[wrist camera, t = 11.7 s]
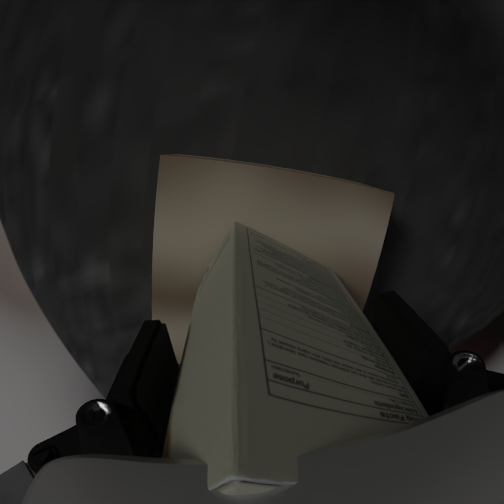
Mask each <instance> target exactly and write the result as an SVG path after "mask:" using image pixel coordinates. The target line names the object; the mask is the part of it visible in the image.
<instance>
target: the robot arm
mask: <svg viewBox="0 0 504 504" xmlns="http://www.w3.org/2000/svg"><path fill="white" fill-rule="evenodd" d="M372 327H373V328H374V330H375V331H376V333H377V334H378V336H379V337H380V339H381V340H382V342H383V343H384V345H385V346H386V348H387V349H388V351H389V352H390V354H391V356H392V357H393V359H394V360H395V362H396V363H397V365H398V366H399V368H400V370H401V371H402V373H403V374H404V376H405V377H406V379H407V381H408V382H409V384H410V386H411V387H412V389H413V390H414V392H415V394H416V395H417V397H418V399H419V400H420V402H421V404H422V405H423V407H424V409H425V410H426V412H427V414H428V415H429V416H428V417H425V418H423V419H420V420H417V421H414V422H412V423H409V424H406V425H403V426H400V427H397V428H394V429H391V430H388V431H384V432H381V433H378V434H374V435H370V436H367V437H363V438H359V439H355V440H351V441H347V442H343V443H338V444H334V445H330V446H327V447H324V448H321V449H319V450H316V451H313V452H310V453H307V454H304V455H301V456H298V457H297V465H298V483H296V484H293V485H283V486H280V487H277V488H275V489H272V490H270V491H267V492H261V493H253V494H244V495H228V494H223V493H221V492H219V491H217V490H209V489H208V486H207V479H208V464H206V463H205V462H203V461H200V460H198V459H175V458H162V456H163V449H164V443H165V437H166V432H167V427H168V422H169V417H170V411H171V406H172V401H173V396H174V391H175V386H176V382H177V377H178V373H179V366H178V362H177V359H176V356H175V353H174V350H173V346H172V343H171V340H170V336H169V333H168V329H167V326H166V324H165V323H161V321H160V320H146V321H144V323H143V325H142V327H141V329H140V331H139V333H138V335H137V337H136V339H135V342H134V344H133V346H132V348H131V350H130V352H129V354H127V355H126V357H125V358H124V361H123V363H122V365H121V367H120V369H119V371H118V373H117V376H116V378H115V380H114V382H113V384H112V387H111V389H110V391H109V393H108V396H107V398H106V400H105V399H95V400H91V401H88V402H86V403H85V404H84V405H82V406H81V407H80V409H79V410H78V411H77V414H76V424H77V425H75V426H73V427H71V428H69V429H67V430H65V431H64V432H61V433H59V434H57V435H55V436H53V437H51V438H49V439H47V440H45V441H43V442H41V443H39V444H37V445H36V446H34V447H33V448H32V450H31V451H30V453H29V455H28V462H27V463H25V462H24V461H21V462H20V463H18V464H17V465H15V466H14V467H12V468H10V469H9V470H7V471H5V472H4V473H2V474H1V475H0V504H504V374H502V373H497V372H493V371H488V370H486V367H485V363H484V360H483V359H482V358H481V356H479V355H478V354H477V353H474V352H472V351H467V350H460V351H457V352H454V353H453V354H452V355H451V353H450V352H449V351H448V349H449V348H448V347H447V346H446V344H445V343H444V342H443V341H442V340H441V339H440V338H439V337H438V336H437V335H436V334H435V332H434V331H433V330H432V329H431V328H430V327H429V326H428V325H427V324H426V323H425V322H424V321H423V320H422V319H421V318H420V317H419V316H418V315H417V313H416V312H415V311H414V310H413V309H412V308H411V307H410V306H409V305H408V304H407V303H406V302H405V301H404V300H403V299H402V298H401V297H400V296H399V295H398V294H397V293H396V292H395V291H389V292H384V293H380V294H379V297H377V298H376V299H375V304H374V314H373V323H372Z"/></svg>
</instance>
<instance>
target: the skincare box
mask: <svg viewBox="0 0 504 504" xmlns="http://www.w3.org/2000/svg"><path fill="white" fill-rule="evenodd" d="M428 416H429V415H428V414H427V412H426V410H425V409H424V407H423V405H422V404H421V402H420V400H419V399H418V397H417V395H416V394H415V392H414V390H413V389H412V387H411V386H410V384H409V382H408V381H407V379H406V377H405V376H404V374H403V373H402V371H401V370H400V368H399V366H398V365H397V363H396V362H395V360H394V359H393V357H392V356H391V354H390V352H389V351H388V349H387V348H386V346H385V345H384V343H383V342H382V340H381V339H380V337H379V336H378V334H377V333H376V331H375V330H374V328H373V327H372V325H371V324H370V323H369V321H368V320H367V318H366V317H365V315H364V314H363V312H362V311H361V309H360V308H359V306H358V305H357V304H356V302H355V301H354V299H353V298H352V296H351V295H350V294H349V292H348V291H347V289H346V288H345V286H344V285H343V284H342V282H341V281H340V279H339V278H338V277H337V275H336V274H335V273H334V272H333V271H331V270H329V269H328V268H326V267H324V266H323V265H321V264H319V263H317V262H316V261H314V260H312V259H310V258H308V257H307V256H305V255H303V254H301V253H299V252H297V251H295V250H294V249H292V248H290V247H288V246H286V245H284V244H282V243H280V242H278V241H276V240H274V239H272V238H270V237H268V236H266V235H264V234H262V233H260V232H258V231H256V230H253V229H251V228H249V227H247V226H245V225H243V224H241V223H238V222H234V223H233V224H232V226H231V228H230V229H229V231H228V233H227V234H226V236H225V238H224V239H223V241H222V243H221V245H220V246H219V248H218V250H217V252H216V254H215V255H214V257H213V259H212V261H211V263H210V265H209V267H208V268H207V271H206V273H205V275H204V277H203V279H202V281H201V283H200V285H199V288H198V291H197V295H196V299H195V303H194V307H193V311H192V315H191V319H190V324H189V328H188V333H187V337H186V341H185V346H184V350H183V355H182V359H181V364H180V368H179V373H178V377H177V382H176V386H175V391H174V396H173V401H172V406H171V411H170V417H169V422H168V427H167V432H166V437H165V443H164V449H163V456H162V458H175V459H198V460H200V461H203V462H205V463H206V464H208V479H207V486H208V489H209V490H217V491H219V492H221V493H223V494H228V495H244V494H253V493H261V492H267V491H270V490H272V489H275V488H277V487H280V486H283V485H293V484H296V483H298V465H297V457H298V456H301V455H304V454H307V453H310V452H313V451H316V450H319V449H321V448H324V447H327V446H330V445H334V444H338V443H343V442H347V441H351V440H355V439H359V438H363V437H367V436H370V435H374V434H378V433H381V432H384V431H388V430H391V429H394V428H397V427H400V426H403V425H406V424H409V423H412V422H414V421H417V420H420V419H423V418H425V417H428Z"/></svg>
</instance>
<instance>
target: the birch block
mask: <svg viewBox="0 0 504 504" xmlns="http://www.w3.org/2000/svg"><path fill="white" fill-rule="evenodd" d="M394 195H395V194H394V193H391V192H388V191H385V190H382V189H378V188H375V187H372V186H368V185H365V184H361V183H357V182H352V181H348V180H343V179H339V178H334V177H329V176H324V175H319V174H314V173H309V172H303V171H298V170H292V169H287V168H281V167H275V166H268V165H262V164H255V163H248V162H241V161H234V160H226V159H218V158H209V157H200V156H190V155H180V154H176V155H160V163H159V173H158V182H157V193H156V206H155V220H154V237H153V262H152V320H160V321H161V323H165V324H166V326H167V329H168V333H169V336H170V340H171V343H172V346H173V350H174V353H175V356H176V359H177V362H178V364H181V359H182V355H183V350H184V346H185V341H186V337H187V333H188V328H189V324H190V319H191V315H192V311H193V307H194V303H195V299H196V295H197V291H198V288H199V285H200V283H201V281H202V279H203V277H204V275H205V273H206V271H207V268H208V267H209V265H210V263H211V261H212V259H213V257H214V255H215V254H216V252H217V250H218V248H219V246H220V245H221V243H222V241H223V239H224V238H225V236H226V234H227V233H228V231H229V229H230V228H231V226H232V224H233V223H234V222H238V223H241V224H243V225H245V226H247V227H249V228H251V229H253V230H256V231H258V232H260V233H262V234H264V235H266V236H268V237H270V238H272V239H274V240H276V241H278V242H280V243H282V244H284V245H286V246H288V247H290V248H292V249H294V250H295V251H297V252H299V253H301V254H303V255H305V256H307V257H308V258H310V259H312V260H314V261H316V262H317V263H319V264H321V265H323V266H324V267H326V268H328V269H329V270H331V271H333V272H334V273H335V274H336V275H337V277H338V278H339V279H340V281H341V282H342V284H343V285H344V286H345V288H346V289H347V291H348V292H349V294H350V295H351V296H352V298H353V299H354V301H355V302H356V304H357V305H358V306H359V308H360V309H361V311H362V312H363V309H364V306H365V303H366V300H367V297H368V294H369V291H370V288H371V284H372V281H373V278H374V275H375V271H376V268H377V264H378V261H379V257H380V253H381V250H382V246H383V242H384V238H385V234H386V230H387V226H388V222H389V218H390V213H391V209H392V204H393V200H394Z"/></svg>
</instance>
